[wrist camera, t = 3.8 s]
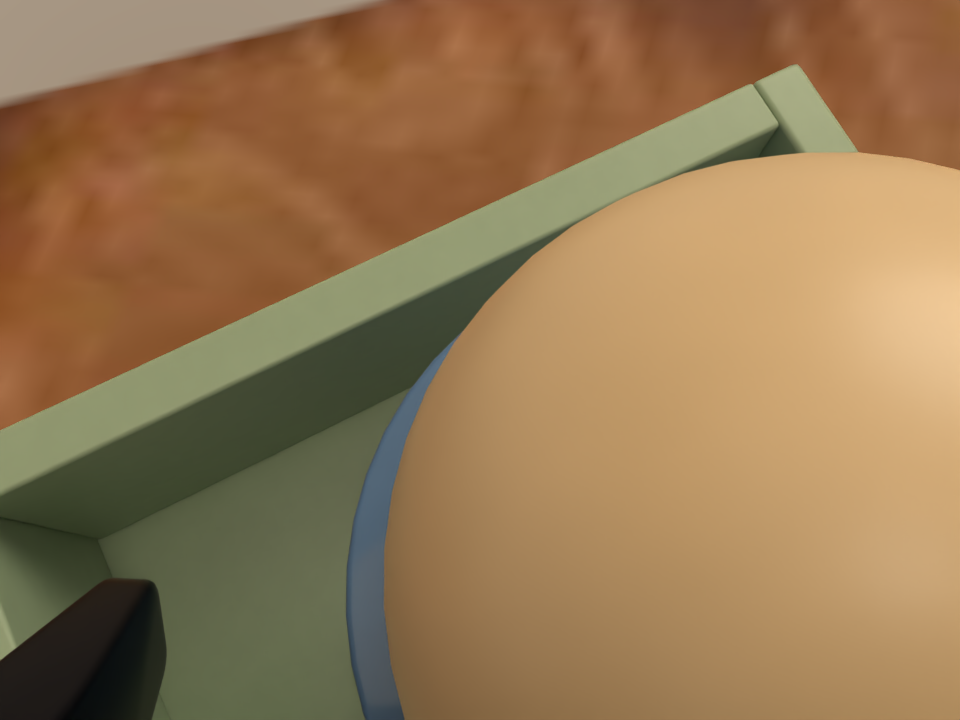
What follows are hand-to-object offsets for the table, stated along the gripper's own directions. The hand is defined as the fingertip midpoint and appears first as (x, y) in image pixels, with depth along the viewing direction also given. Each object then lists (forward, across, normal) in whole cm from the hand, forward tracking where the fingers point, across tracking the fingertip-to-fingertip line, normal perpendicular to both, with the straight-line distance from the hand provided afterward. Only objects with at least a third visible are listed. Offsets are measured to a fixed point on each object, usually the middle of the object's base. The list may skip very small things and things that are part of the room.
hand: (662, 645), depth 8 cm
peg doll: (+6, 0, +5) cm, 8 cm away
